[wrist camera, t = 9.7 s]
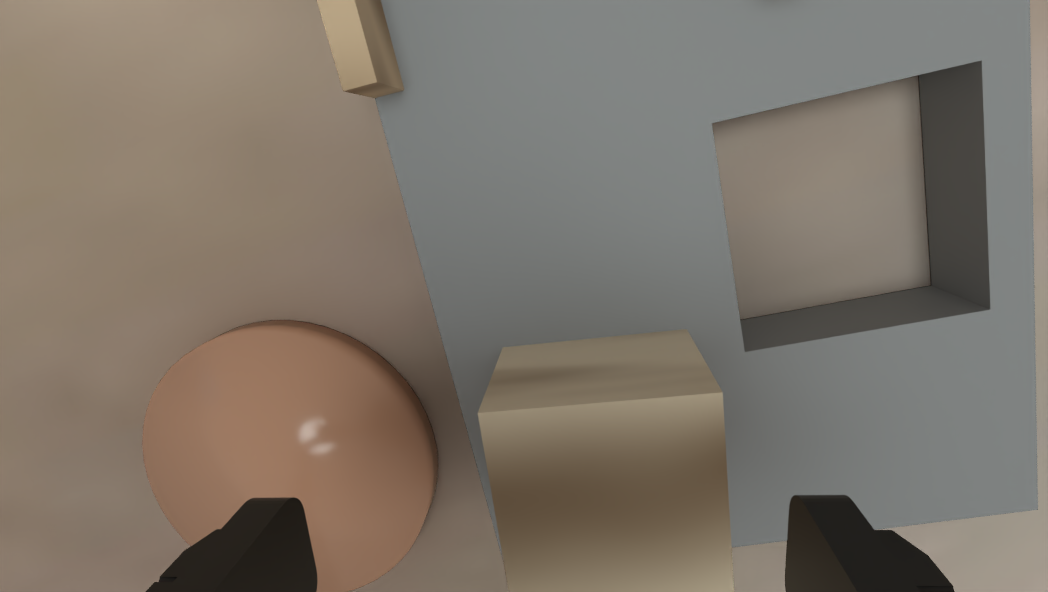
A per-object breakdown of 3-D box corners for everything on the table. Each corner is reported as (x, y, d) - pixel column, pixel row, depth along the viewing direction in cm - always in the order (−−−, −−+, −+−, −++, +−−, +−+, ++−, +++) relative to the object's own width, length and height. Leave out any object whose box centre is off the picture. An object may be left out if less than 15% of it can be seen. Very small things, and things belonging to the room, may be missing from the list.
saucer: (468, 554, 21) (462, 578, 20) (223, 586, 22) (204, 610, 21) (392, 293, 18) (379, 304, 17) (124, 349, 20) (96, 362, 19)
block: (698, 493, 16) (734, 600, 13) (527, 503, 17) (511, 609, 13) (686, 329, 15) (722, 392, 11) (502, 347, 16) (477, 413, 12)
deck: (976, 460, 18) (1037, 509, 16) (516, 523, 20) (507, 575, 18) (930, -573, 12) (1018, -750, 10) (290, -323, 14) (232, -416, 12)
